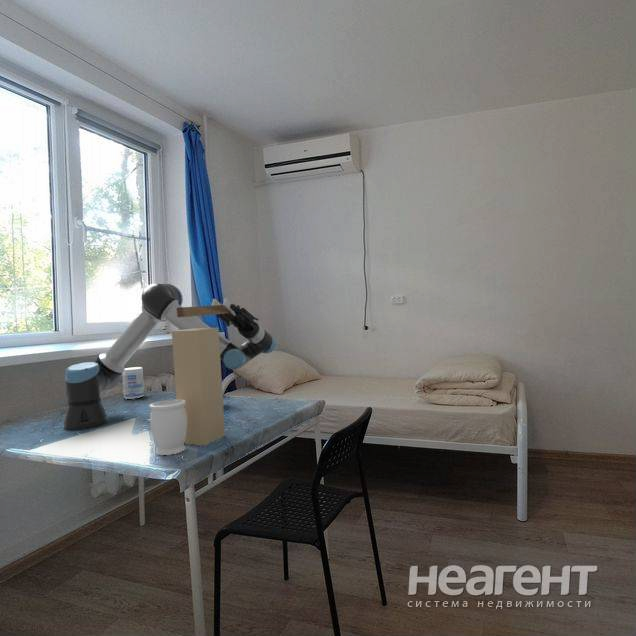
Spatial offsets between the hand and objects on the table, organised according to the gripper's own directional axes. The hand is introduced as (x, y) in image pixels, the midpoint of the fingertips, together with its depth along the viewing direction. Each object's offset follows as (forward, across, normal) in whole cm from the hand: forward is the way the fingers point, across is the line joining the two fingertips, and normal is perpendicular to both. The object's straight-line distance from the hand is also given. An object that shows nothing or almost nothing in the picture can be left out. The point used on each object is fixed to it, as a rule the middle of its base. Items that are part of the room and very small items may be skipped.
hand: (218, 301), depth 167 cm
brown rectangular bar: (+3, 0, +7) cm, 8 cm away
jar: (+1, -2, +52) cm, 52 cm away
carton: (-10, 0, +46) cm, 47 cm away
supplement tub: (-55, -79, +20) cm, 98 cm away
